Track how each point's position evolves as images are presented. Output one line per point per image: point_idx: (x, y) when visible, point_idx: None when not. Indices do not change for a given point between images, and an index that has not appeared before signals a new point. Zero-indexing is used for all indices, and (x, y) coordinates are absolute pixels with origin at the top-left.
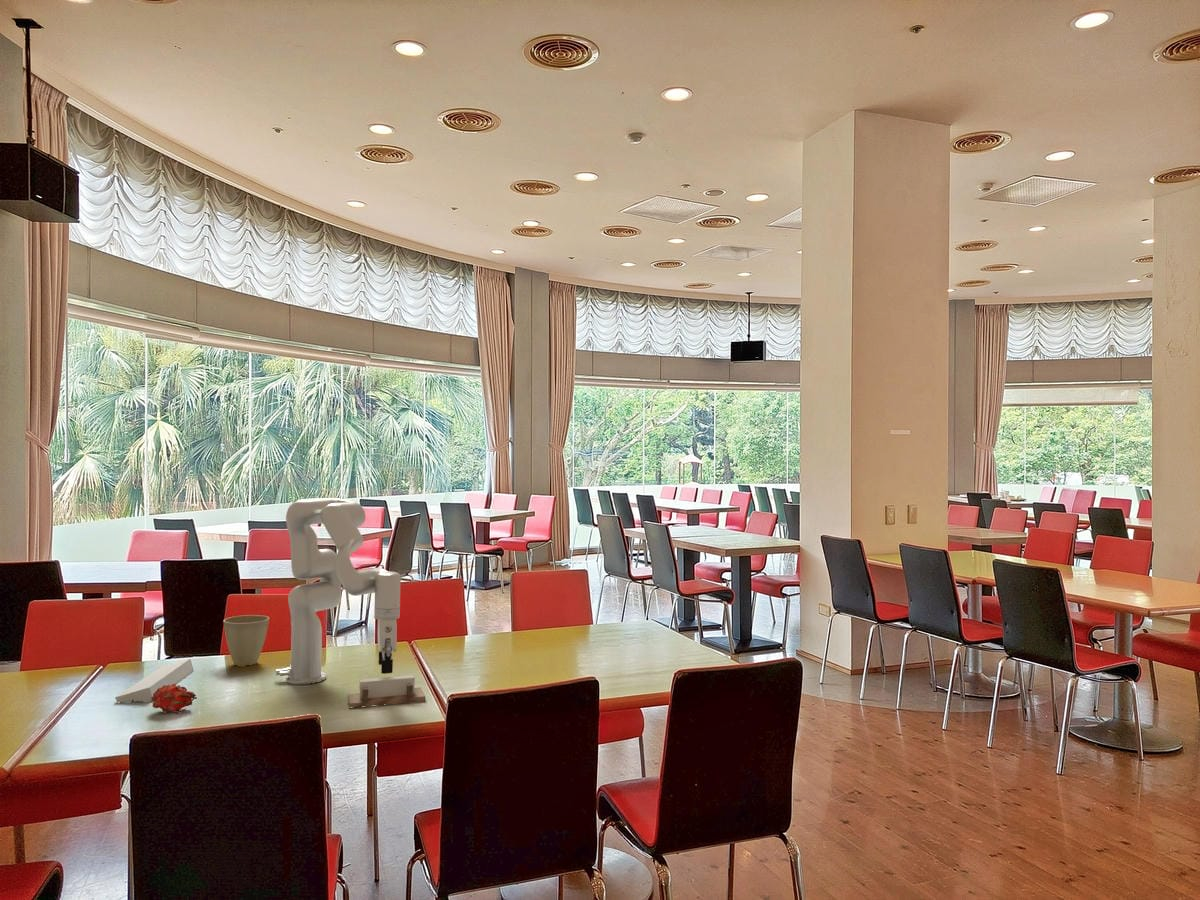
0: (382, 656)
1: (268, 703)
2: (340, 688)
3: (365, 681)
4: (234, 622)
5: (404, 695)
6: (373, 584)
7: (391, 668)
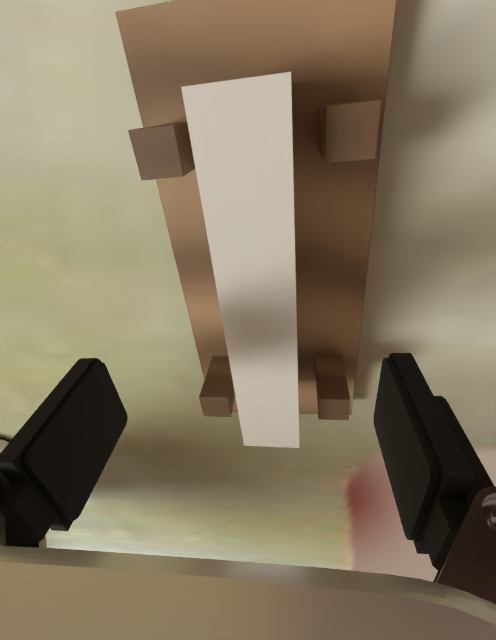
0: (86, 463)
1: (222, 529)
2: None
3: (292, 429)
4: None
5: (307, 166)
6: None
7: (425, 390)
